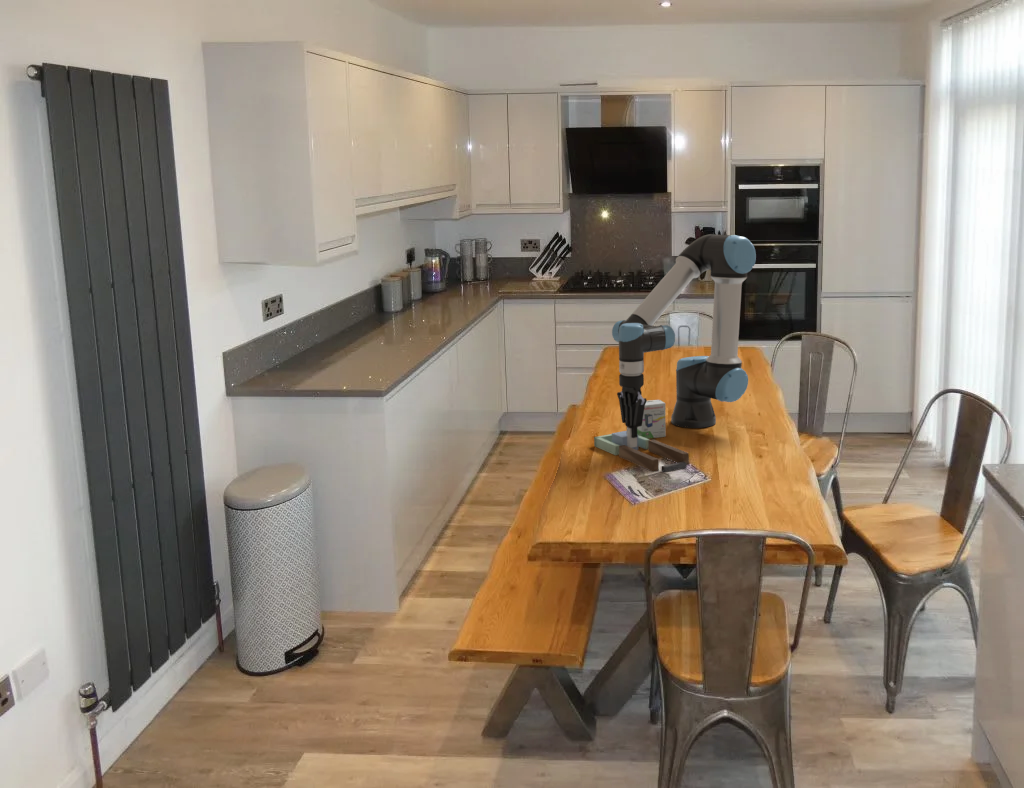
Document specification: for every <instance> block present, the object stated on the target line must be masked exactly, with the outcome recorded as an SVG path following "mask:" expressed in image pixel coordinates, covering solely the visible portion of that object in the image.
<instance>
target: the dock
mask: <svg viewBox="0 0 1024 788" xmlns="http://www.w3.org/2000/svg"><path fill="white" fill-rule="evenodd" d="M649 440H651V438H650V439H647V438H645V437H642V436H639V435H638V448H641V449H644V450H648V441H649ZM593 441H594V442H593V443H594V444H593V446H594V447H596V449H597V448H598V449H600V450H603V451H605V452H607V453H610V454H612V455H614V456H619V446H620V445H617V444H615V443H613V442H612V433H610V434H604V435H599V436H594V437H593Z"/></svg>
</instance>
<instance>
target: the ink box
mask: <svg viewBox="0 0 1024 788" xmlns="http://www.w3.org/2000/svg"><path fill="white" fill-rule="evenodd" d="M666 424H667V423H666V402H664V401H662V400H661V399H652V400H651V399H649V400H647V401H646V404H645V407H644V414H643V421H642V426H639V427H638V428H637V434H638V435H639V436H642V437H645V438H647V439H650V440H651V439H657V438H663V437H664V438H665V437H666V436H667V433H666Z"/></svg>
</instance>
